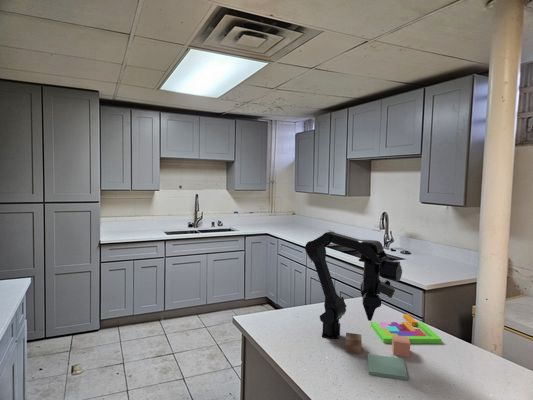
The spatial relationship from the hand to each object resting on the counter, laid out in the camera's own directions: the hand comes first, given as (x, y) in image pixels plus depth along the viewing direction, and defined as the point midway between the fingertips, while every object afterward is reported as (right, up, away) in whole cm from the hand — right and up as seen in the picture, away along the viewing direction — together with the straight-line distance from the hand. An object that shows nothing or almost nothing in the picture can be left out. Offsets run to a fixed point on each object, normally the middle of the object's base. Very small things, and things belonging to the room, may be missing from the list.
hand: (368, 315), depth 134 cm
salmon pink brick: (+11, -13, -2) cm, 17 cm away
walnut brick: (-6, -12, -1) cm, 14 cm away
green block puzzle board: (+18, -12, +18) cm, 28 cm away
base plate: (+2, -13, -13) cm, 19 cm away
